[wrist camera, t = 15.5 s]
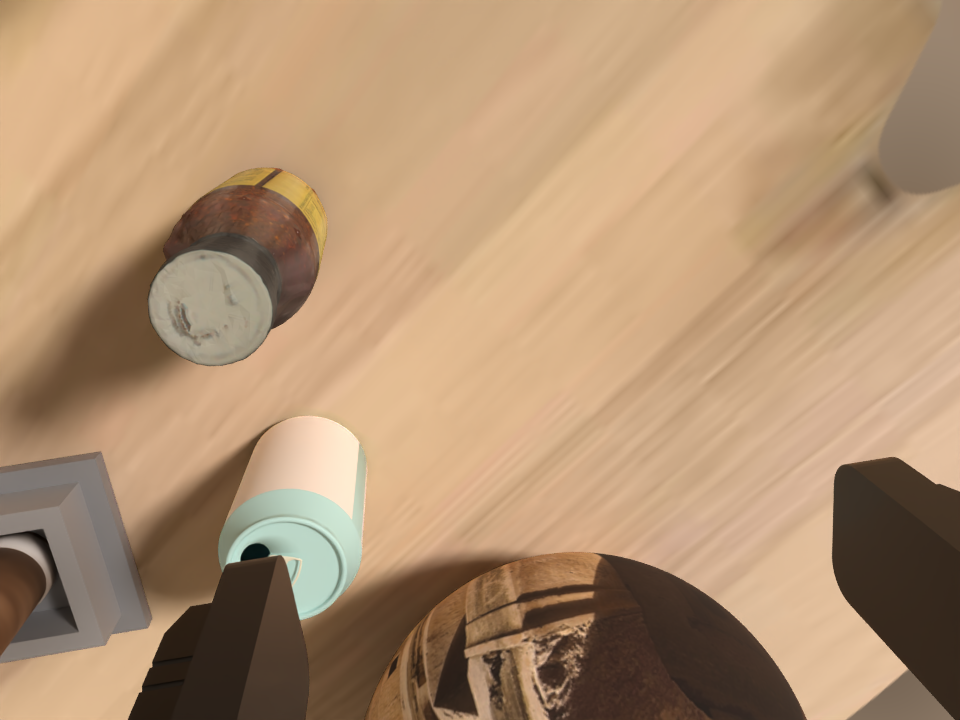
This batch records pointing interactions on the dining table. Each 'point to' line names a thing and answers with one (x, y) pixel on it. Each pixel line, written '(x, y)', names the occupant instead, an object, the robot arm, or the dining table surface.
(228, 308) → the sauce bottle
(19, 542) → the handle
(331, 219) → the dining table surface
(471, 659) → the sphere
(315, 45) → the dining table surface
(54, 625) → the holder
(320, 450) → the can
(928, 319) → the dining table surface
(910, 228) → the dining table surface
